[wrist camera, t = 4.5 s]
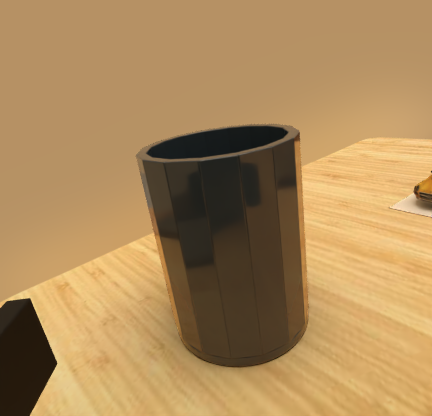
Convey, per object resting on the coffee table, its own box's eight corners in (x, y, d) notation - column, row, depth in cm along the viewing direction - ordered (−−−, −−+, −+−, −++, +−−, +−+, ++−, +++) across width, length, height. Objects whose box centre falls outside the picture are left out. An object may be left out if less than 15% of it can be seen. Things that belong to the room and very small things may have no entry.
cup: (171, 375, 17) (118, 172, 13) (183, 285, 25) (151, 137, 21) (326, 357, 17) (319, 143, 13) (291, 271, 25) (280, 118, 21)
